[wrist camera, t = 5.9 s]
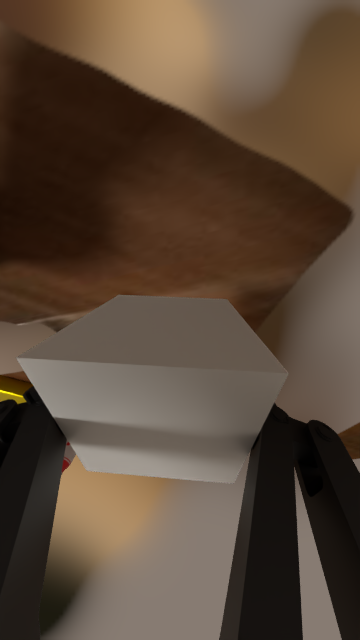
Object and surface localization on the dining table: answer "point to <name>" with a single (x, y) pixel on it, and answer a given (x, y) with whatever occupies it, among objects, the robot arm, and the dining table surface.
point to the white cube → (158, 387)
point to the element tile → (13, 389)
